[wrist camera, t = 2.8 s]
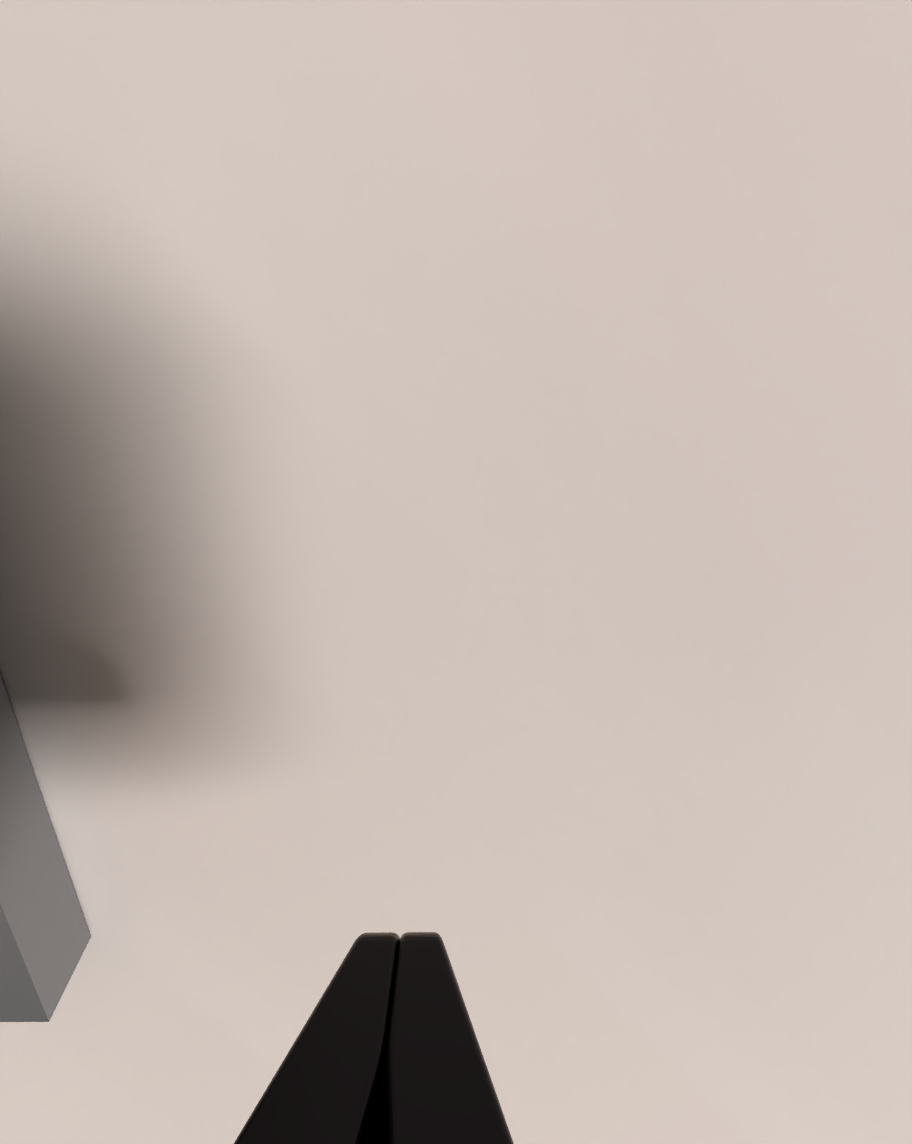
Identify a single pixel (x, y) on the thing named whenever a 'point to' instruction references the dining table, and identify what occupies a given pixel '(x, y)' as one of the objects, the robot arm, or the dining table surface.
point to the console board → (32, 890)
